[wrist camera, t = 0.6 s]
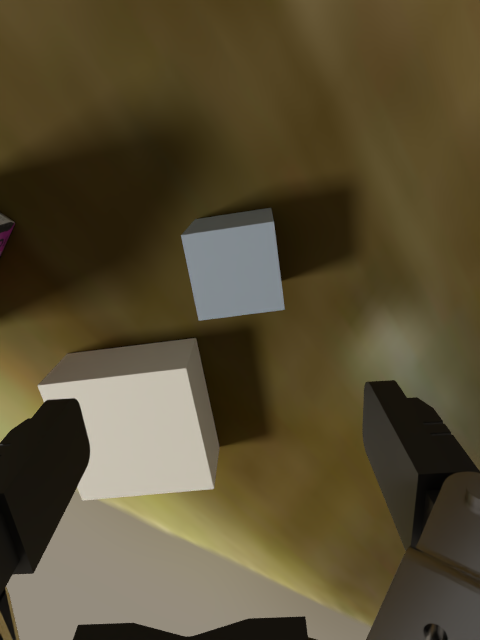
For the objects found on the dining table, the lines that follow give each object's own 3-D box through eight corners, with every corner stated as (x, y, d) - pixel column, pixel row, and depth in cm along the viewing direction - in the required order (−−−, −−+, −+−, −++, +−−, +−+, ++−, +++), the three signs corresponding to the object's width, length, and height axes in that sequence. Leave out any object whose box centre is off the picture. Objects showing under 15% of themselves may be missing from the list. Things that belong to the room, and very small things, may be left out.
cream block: (196, 337, 34) (186, 368, 29) (219, 447, 38) (213, 488, 33) (67, 353, 35) (37, 385, 30) (103, 458, 39) (82, 500, 34)
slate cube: (271, 207, 30) (273, 221, 24) (280, 281, 32) (284, 309, 26) (195, 219, 30) (181, 235, 25) (209, 290, 32) (198, 320, 27)
